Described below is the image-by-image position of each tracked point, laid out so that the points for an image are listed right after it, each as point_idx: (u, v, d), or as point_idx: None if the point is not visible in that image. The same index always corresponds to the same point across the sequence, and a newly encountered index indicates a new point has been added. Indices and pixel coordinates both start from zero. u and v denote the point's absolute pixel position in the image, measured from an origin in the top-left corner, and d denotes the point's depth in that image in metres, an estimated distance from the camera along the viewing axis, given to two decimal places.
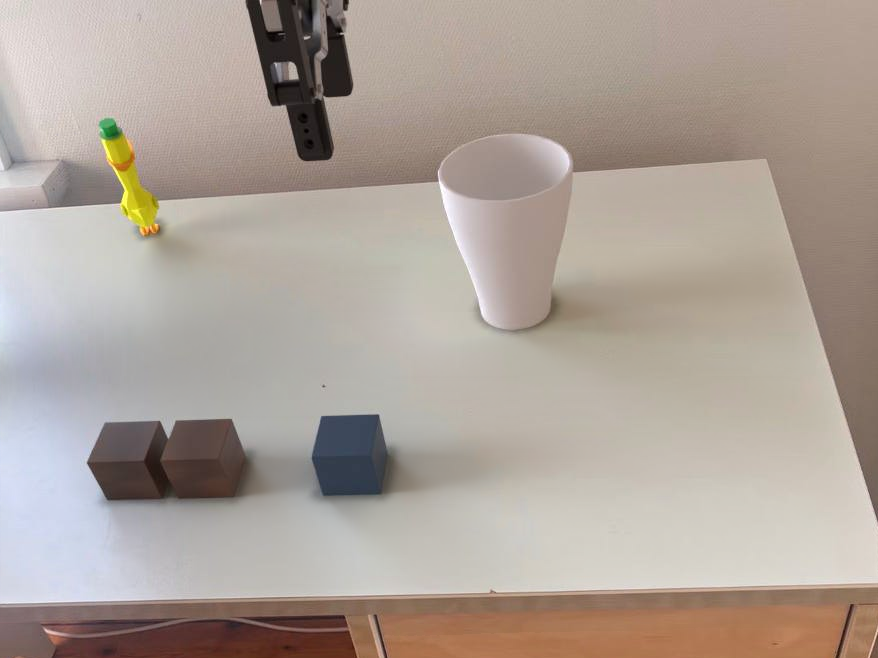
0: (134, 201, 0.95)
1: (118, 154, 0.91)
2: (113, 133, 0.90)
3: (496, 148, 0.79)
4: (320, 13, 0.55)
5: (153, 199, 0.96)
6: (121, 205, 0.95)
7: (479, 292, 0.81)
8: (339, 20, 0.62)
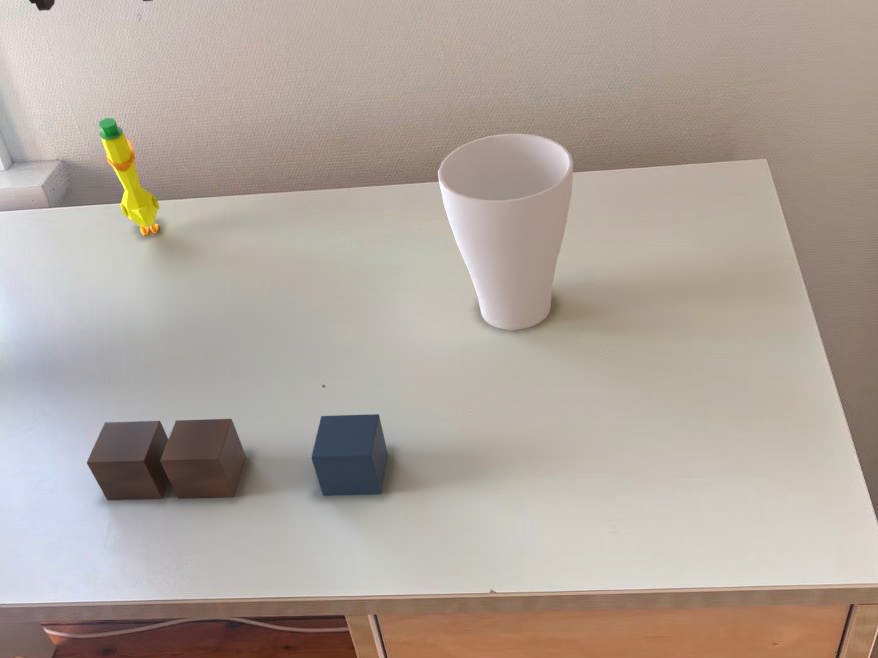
0: (134, 201, 0.95)
1: (118, 154, 0.91)
2: (113, 133, 0.90)
3: (496, 148, 0.79)
4: None
5: (153, 199, 0.96)
6: (121, 205, 0.95)
7: (479, 292, 0.81)
8: None
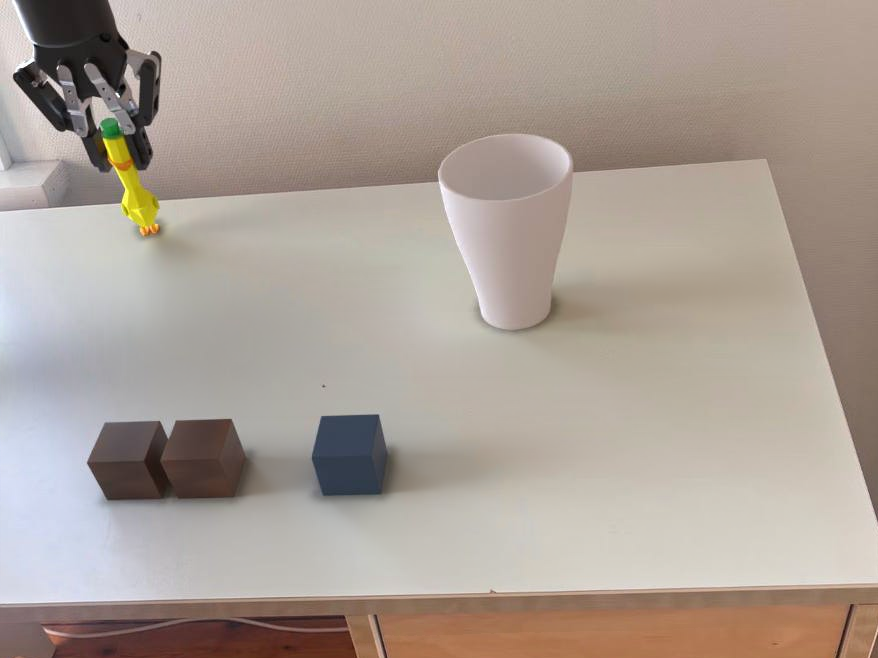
0: (135, 200, 0.95)
1: (119, 154, 0.91)
2: (115, 133, 0.90)
3: (497, 148, 0.79)
4: (63, 91, 0.87)
5: (154, 199, 0.96)
6: (121, 205, 0.95)
7: (479, 292, 0.81)
8: (116, 117, 0.89)
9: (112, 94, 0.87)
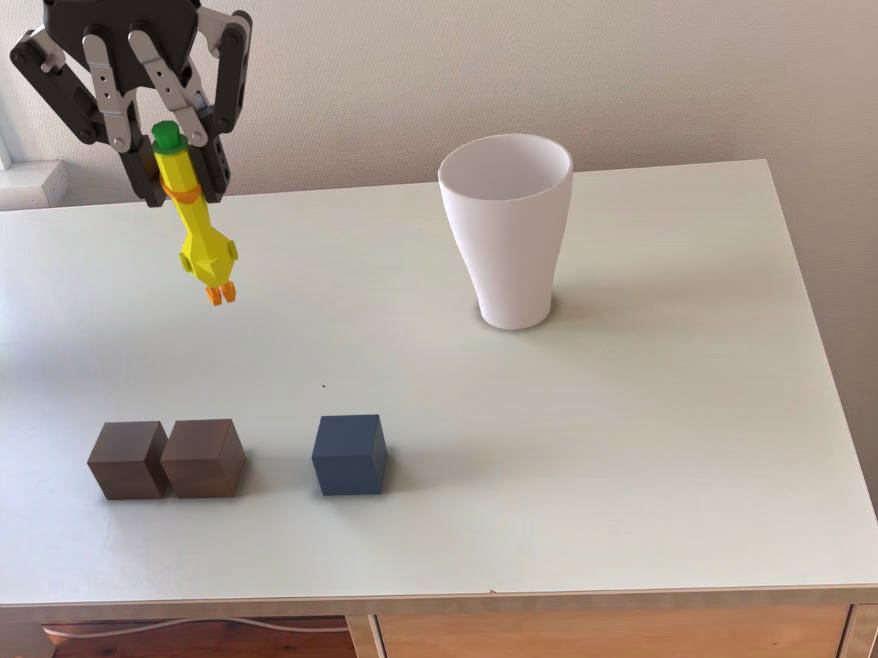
0: (203, 249, 0.61)
1: (181, 177, 0.57)
2: (174, 144, 0.56)
3: (497, 148, 0.79)
4: (93, 78, 0.53)
5: (230, 245, 0.62)
6: (181, 255, 0.62)
7: (479, 292, 0.81)
8: None
9: (174, 82, 0.53)
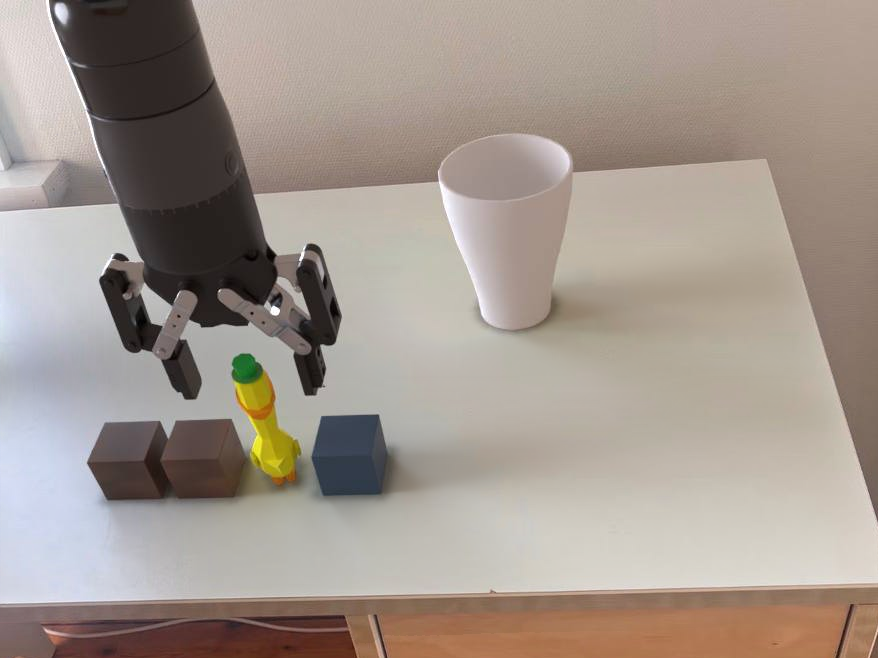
0: (271, 451, 0.69)
1: (256, 399, 0.66)
2: (251, 374, 0.65)
3: (497, 148, 0.79)
4: (170, 312, 0.61)
5: (294, 444, 0.71)
6: (252, 454, 0.70)
7: (479, 292, 0.81)
8: None
9: (265, 315, 0.60)
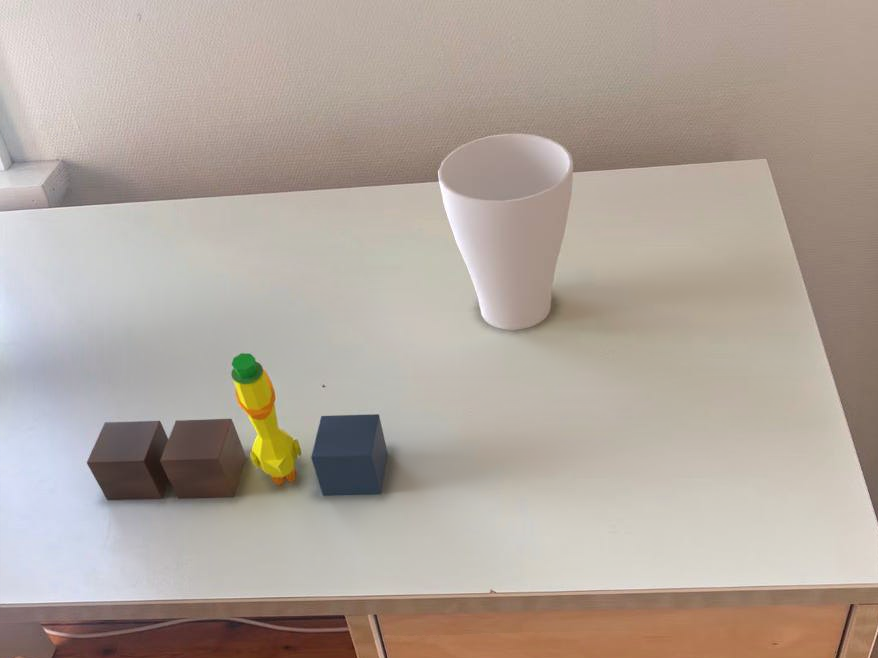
0: (271, 451, 0.69)
1: (256, 399, 0.66)
2: (251, 374, 0.65)
3: (497, 148, 0.79)
4: None
5: (294, 444, 0.71)
6: (252, 454, 0.70)
7: (479, 292, 0.81)
8: None
9: None
